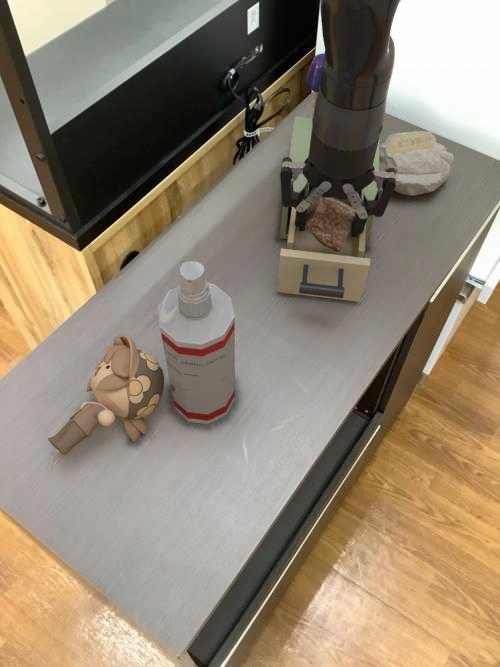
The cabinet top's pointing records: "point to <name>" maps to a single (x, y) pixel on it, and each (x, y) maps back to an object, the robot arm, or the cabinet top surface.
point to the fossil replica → (415, 161)
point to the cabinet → (300, 154)
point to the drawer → (322, 265)
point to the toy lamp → (315, 75)
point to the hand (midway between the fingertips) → (328, 229)
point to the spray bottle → (199, 346)
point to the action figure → (116, 394)
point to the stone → (330, 222)
